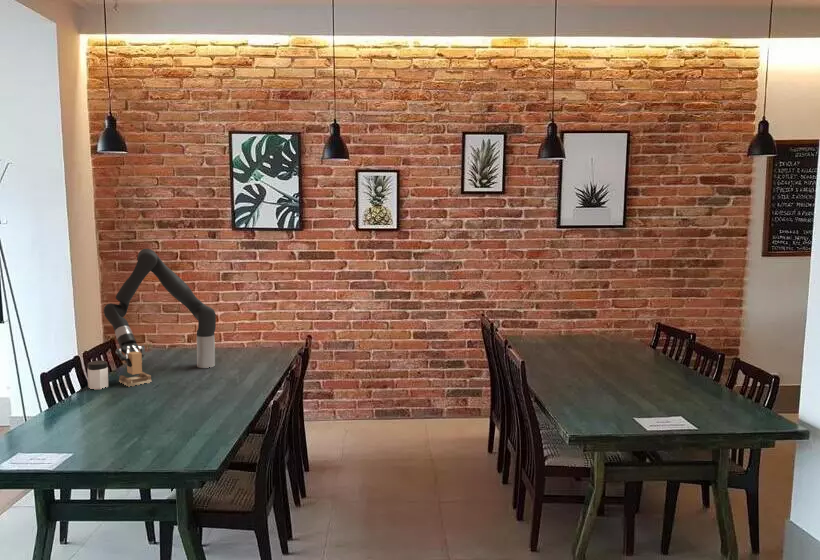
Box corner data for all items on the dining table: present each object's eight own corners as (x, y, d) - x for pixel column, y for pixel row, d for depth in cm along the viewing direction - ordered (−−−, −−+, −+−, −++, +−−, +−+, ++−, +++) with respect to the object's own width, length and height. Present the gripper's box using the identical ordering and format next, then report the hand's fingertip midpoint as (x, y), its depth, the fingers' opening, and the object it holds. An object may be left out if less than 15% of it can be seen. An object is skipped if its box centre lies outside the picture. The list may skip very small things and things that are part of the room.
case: (127, 372, 286) (126, 352, 285) (136, 370, 289) (136, 351, 288) (132, 374, 282) (132, 354, 281) (141, 373, 285) (141, 353, 284)
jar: (110, 387, 277) (109, 363, 276) (90, 390, 272) (89, 365, 270) (105, 383, 284) (104, 359, 282) (86, 386, 278) (85, 361, 277)
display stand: (119, 382, 286) (118, 375, 286) (141, 378, 294) (141, 371, 294) (128, 387, 279) (128, 380, 278) (151, 382, 287) (151, 375, 286)
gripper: (112, 334, 283) (123, 363, 277) (141, 330, 294) (153, 358, 287) (108, 343, 287) (118, 372, 281) (137, 339, 298) (148, 367, 291)
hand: (136, 365), depth 284 cm, fingers closed on case, 4 cm apart
